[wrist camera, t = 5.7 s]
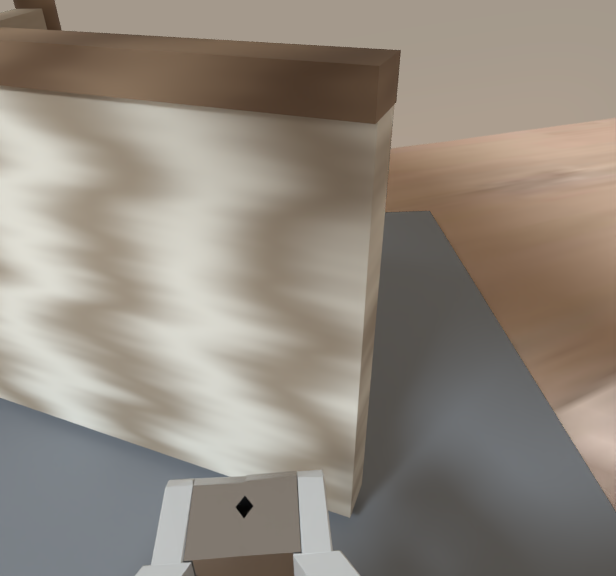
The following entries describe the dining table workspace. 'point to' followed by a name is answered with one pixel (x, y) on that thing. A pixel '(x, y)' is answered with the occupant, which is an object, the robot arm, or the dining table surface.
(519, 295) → the dining table surface
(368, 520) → the board
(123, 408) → the fence panel
